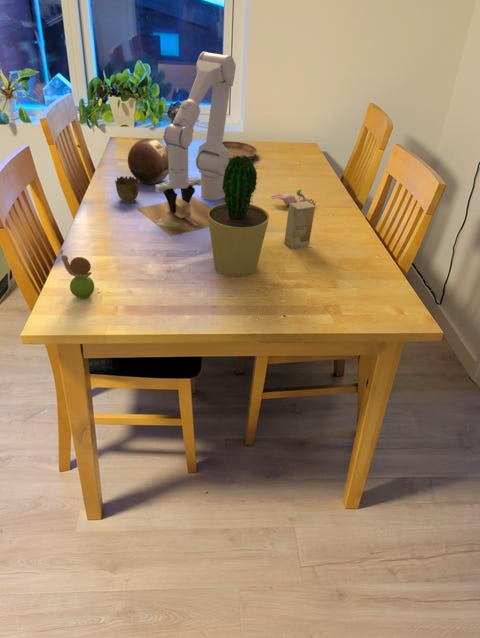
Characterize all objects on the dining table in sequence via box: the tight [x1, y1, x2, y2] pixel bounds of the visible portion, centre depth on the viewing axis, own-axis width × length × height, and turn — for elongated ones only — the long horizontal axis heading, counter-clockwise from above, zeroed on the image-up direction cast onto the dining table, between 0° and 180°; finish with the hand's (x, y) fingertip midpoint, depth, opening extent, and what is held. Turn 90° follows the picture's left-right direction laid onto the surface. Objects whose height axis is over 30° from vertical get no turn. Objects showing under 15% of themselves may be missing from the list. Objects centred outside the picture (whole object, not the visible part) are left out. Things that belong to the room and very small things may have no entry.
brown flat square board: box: [136, 196, 212, 237], centre depth 160 cm, size 21×22×1 cm
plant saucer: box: [208, 140, 258, 161], centre depth 212 cm, size 21×21×3 cm
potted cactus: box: [208, 153, 270, 278], centre depth 129 cm, size 15×15×30 cm
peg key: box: [166, 195, 197, 226], centre depth 157 cm, size 4×14×4 cm, turn 35°
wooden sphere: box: [127, 138, 169, 185], centre depth 179 cm, size 15×15×15 cm
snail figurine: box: [59, 249, 95, 299], centre depth 118 cm, size 5×6×12 cm
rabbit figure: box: [270, 189, 316, 207], centre depth 172 cm, size 6×6×15 cm
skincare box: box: [283, 201, 316, 249], centre depth 147 cm, size 6×4×12 cm
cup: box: [114, 176, 140, 203], centre depth 165 cm, size 8×7×8 cm
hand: (178, 210), depth 159 cm, fingers closed on peg key, 4 cm apart
